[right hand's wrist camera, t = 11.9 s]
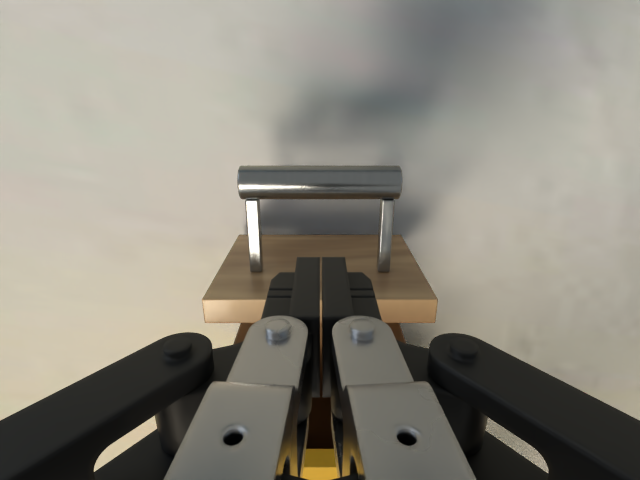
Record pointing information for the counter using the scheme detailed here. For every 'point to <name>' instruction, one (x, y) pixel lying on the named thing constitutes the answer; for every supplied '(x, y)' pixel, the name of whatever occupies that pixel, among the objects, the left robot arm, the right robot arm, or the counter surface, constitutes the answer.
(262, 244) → the drawer
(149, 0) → the counter surface
